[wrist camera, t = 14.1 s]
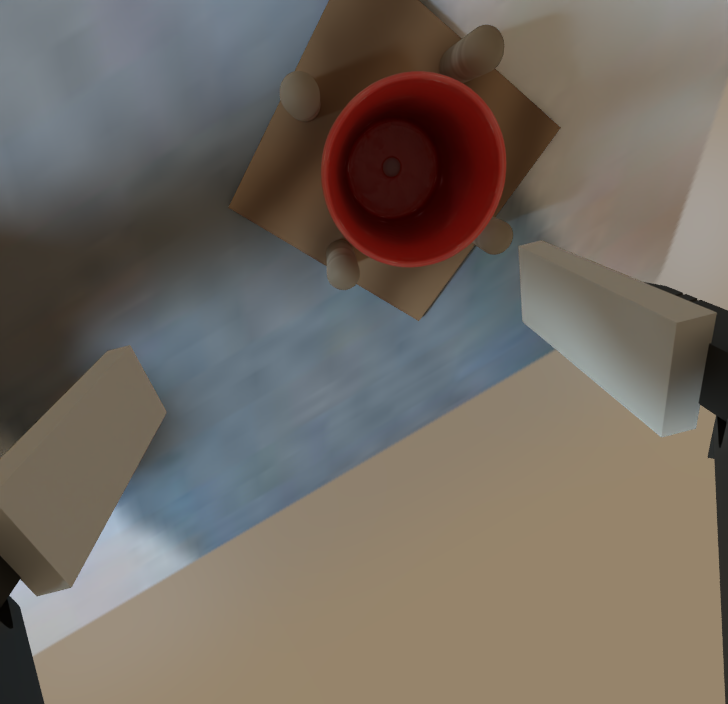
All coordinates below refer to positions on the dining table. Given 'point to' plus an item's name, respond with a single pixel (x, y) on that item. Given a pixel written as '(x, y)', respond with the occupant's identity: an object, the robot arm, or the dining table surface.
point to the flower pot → (413, 169)
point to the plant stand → (327, 100)
